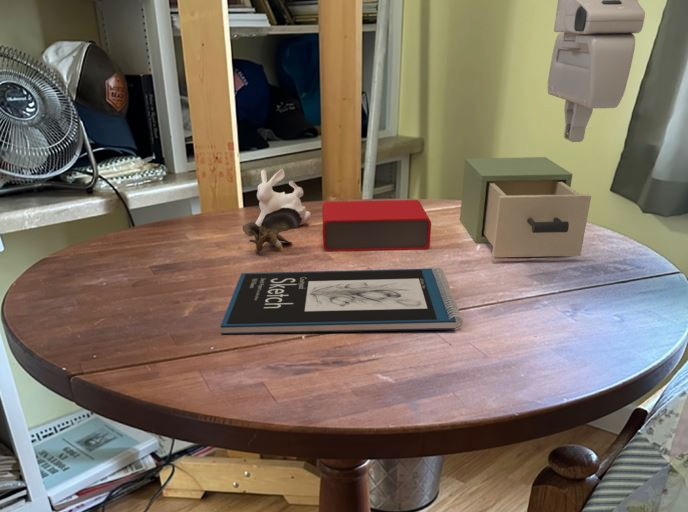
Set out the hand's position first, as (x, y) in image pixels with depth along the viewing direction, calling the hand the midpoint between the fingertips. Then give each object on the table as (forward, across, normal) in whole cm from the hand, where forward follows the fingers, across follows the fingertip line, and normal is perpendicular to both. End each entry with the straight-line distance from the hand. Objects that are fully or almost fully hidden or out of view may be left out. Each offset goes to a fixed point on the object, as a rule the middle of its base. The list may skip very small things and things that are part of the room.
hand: (573, 140), depth 92 cm
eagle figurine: (+19, -19, -42) cm, 50 cm away
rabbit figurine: (+19, -36, -42) cm, 59 cm away
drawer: (+18, -14, 0) cm, 23 cm away
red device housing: (+19, -24, -25) cm, 40 cm away
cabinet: (+19, -29, 0) cm, 35 cm away
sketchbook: (+19, +9, -31) cm, 37 cm away
